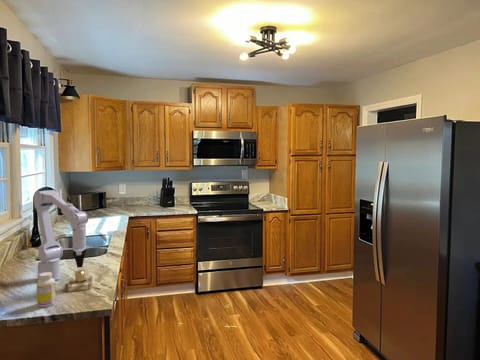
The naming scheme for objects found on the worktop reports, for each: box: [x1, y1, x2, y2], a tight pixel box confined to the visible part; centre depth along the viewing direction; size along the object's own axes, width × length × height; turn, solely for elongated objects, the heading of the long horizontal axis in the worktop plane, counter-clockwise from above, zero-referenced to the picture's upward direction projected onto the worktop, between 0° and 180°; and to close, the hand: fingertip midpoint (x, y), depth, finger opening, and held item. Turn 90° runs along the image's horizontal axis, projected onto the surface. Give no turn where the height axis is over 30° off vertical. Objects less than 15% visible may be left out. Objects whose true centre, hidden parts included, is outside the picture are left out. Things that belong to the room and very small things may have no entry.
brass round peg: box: [74, 269, 86, 283], centre depth 167 cm, size 4×4×7 cm
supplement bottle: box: [36, 272, 57, 308], centre depth 147 cm, size 7×7×13 cm
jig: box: [67, 275, 93, 293], centre depth 168 cm, size 10×12×2 cm
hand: (80, 266), depth 167 cm, fingers closed
